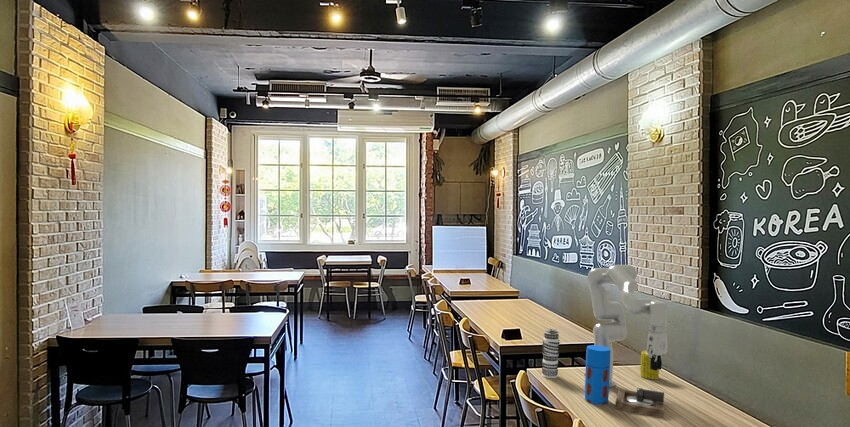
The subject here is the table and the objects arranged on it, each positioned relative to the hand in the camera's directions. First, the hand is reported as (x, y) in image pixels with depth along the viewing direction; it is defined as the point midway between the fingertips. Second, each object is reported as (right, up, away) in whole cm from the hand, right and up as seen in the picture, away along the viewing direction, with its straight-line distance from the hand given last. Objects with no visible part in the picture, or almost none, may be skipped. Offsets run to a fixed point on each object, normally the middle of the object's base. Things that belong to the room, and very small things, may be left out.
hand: (655, 368), depth 245 cm
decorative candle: (-37, -17, +47) cm, 62 cm away
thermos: (-23, -18, +11) cm, 32 cm away
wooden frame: (-5, -19, +6) cm, 20 cm away
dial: (-3, -17, +5) cm, 18 cm away
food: (+18, -19, +50) cm, 56 cm away
